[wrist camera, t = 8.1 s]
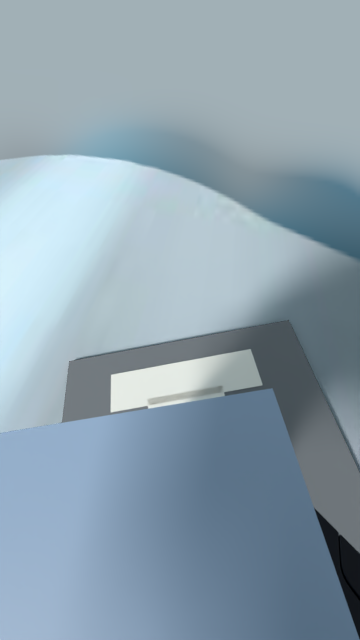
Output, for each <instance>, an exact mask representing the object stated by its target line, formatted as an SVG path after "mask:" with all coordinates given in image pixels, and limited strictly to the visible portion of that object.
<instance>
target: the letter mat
mask: <svg viewBox="0 0 360 640" xmlns="http://www.w3.org/2000/svg"><path fill="white" fill-rule="evenodd" d="M271 388H273V391H274V394H275V397H276V400H277V403H278V405H279V408H280V411H281V414H282V417H283V420H284V423H285V426H286V429H287V431H288V434H289V437H290V440H291V443H292V446H293V449H294V452H295V455H296V457H297V460H298V463H299V466H300V469H301V472H302V475H303V478H304V481H305V483H306V486H307V489H308V492H309V495H310V498H311V501H312V504H313V507H314V508H315V509H316V510H317V511H318V512H319V513H320V514H321V515H322V516H323V517H324V518H325V519H326V520H327V521H328V522H329V523H330V524H331V525H332V526H333V527H334V528H335V529H336V530H337V531H338V532H339V535H342V536H343V537H344V538H345V539H346V540H347V541H348V542H349V543H350V544H351V545H352V546H353V547H354V548H355V549H356V550H357V551H358V552H359V553H360V472H359V470H358V468H357V466H356V463H355V461H354V459H353V457H352V455H351V453H350V451H349V448H348V446H347V444H346V442H345V440H344V438H343V436H342V433H341V431H340V429H339V427H338V425H337V423H336V421H335V418H334V416H333V414H332V412H331V410H330V408H329V406H328V403H327V401H326V399H325V397H324V395H323V393H322V391H321V388H320V386H319V384H318V382H317V380H316V378H315V376H314V373H313V371H312V369H311V367H310V365H309V363H308V361H307V358H306V356H305V354H304V352H303V350H302V348H301V346H300V343H299V341H298V339H297V337H296V335H295V333H294V331H293V328H292V326H291V324H290V322H289V320H287V321H281V322H276V323H271V324H265V325H260V326H255V327H249V328H244V329H239V330H233V331H228V332H223V333H217V334H212V335H207V336H201V337H196V338H191V339H185V340H180V341H175V342H169V343H164V344H159V345H153V346H148V347H143V348H137V349H132V350H127V351H122V352H116V353H111V354H106V355H100V356H95V357H90V358H84V359H79V360H74V361H69V368H68V376H67V385H66V393H65V402H64V410H63V419H62V423H64V422H70V421H76V420H82V419H88V418H94V417H101V416H107V415H113V414H119V413H125V412H131V411H137V410H143V409H149V408H155V407H161V406H167V405H173V404H180V403H186V402H192V401H198V400H204V399H210V398H216V397H222V396H228V395H234V394H240V393H246V392H252V391H259V390H265V389H271Z"/></svg>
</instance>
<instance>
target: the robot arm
mask: <svg viewBox="0 0 360 640" xmlns="http://www.w3.org/2000/svg"><path fill="white" fill-rule="evenodd" d="M314 509H315V508H314ZM315 512H316V515H317V518H318V521H319V524H320V527H321V530H322V533H323V535H324V538H325V541H326V544H327V547H328V550H329V553H330V556H331V558H332V561H333V564H334V567H335V570H336V573H337V576H338V579H339V582H340V584H341V587H342V590H343V593H344V596H345V599H346V602H347V605H348V608H349V610H350V613H351V616H352V619H353V622H354V625H355V628H356V631H357V634H358V636H359V639H360V553H359V552H358V551H357V550H356V549H355V548H354V547H353V546H352V545H351V544H350V543H349V542H348V541H347V540H346V539H345V538H344V537H343V536H342V535H339V532H338V531H337V530H336V529H335V528H334V527H333V526H332V525H331V524H330V523H329V522H328V521H327V520H326V519H325V518H324V517H323V516H322V515H321V514H320V513H319V512H318V511H317V510H316V509H315Z"/></svg>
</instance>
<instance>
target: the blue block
mask: <svg viewBox="0 0 360 640" xmlns="http://www.w3.org/2000/svg"><path fill="white" fill-rule="evenodd" d="M0 640H360V639H359V636H358V634H357V631H356V628H355V625H354V622H353V619H352V616H351V613H350V610H349V608H348V605H347V602H346V599H345V596H344V593H343V590H342V587H341V584H340V582H339V579H338V576H337V573H336V570H335V567H334V564H333V561H332V558H331V556H330V553H329V550H328V547H327V544H326V541H325V538H324V535H323V533H322V530H321V527H320V524H319V521H318V518H317V515H316V512H315V509H314V507H313V504H312V501H311V498H310V495H309V492H308V489H307V486H306V483H305V481H304V478H303V475H302V472H301V469H300V466H299V463H298V460H297V457H296V455H295V452H294V449H293V446H292V443H291V440H290V437H289V434H288V431H287V429H286V426H285V423H284V420H283V417H282V414H281V411H280V408H279V405H278V403H277V400H276V397H275V394H274V391H273V388H271V389H265V390H259V391H252V392H246V393H240V394H234V395H228V396H222V397H216V398H210V399H204V400H198V401H192V402H186V403H180V404H173V405H167V406H161V407H155V408H149V409H143V410H137V411H131V412H125V413H119V414H113V415H107V416H101V417H94V418H88V419H82V420H76V421H70V422H64V423H58V424H52V425H46V426H40V427H34V428H28V429H22V430H15V431H9V432H3V433H0Z"/></svg>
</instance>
